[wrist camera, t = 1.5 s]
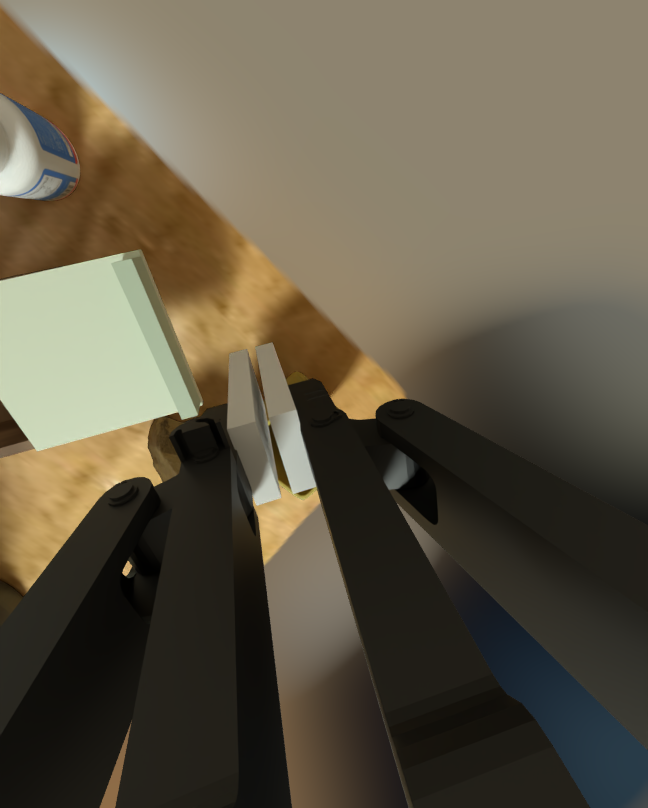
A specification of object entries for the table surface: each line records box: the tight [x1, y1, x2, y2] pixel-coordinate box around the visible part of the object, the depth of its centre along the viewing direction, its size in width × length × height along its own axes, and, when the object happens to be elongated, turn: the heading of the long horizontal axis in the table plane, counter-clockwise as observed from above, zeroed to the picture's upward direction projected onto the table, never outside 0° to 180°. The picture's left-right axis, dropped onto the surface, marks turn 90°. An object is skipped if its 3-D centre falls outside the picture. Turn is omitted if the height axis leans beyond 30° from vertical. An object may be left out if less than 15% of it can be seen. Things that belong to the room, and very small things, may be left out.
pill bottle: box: [0, 93, 80, 201], centre depth 22 cm, size 6×5×10 cm
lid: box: [0, 249, 203, 451], centre depth 25 cm, size 13×12×3 cm
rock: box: [148, 416, 183, 482], centre depth 36 cm, size 11×9×10 cm
